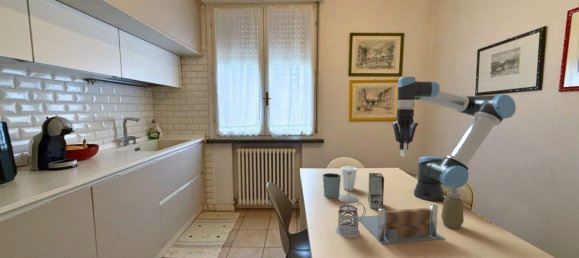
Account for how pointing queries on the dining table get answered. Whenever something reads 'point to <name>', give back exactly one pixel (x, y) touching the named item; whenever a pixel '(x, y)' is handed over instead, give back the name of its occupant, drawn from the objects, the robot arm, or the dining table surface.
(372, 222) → the mat
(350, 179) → the foam cup
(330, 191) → the grey-green cup
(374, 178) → the coffee box
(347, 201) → the french press
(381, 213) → the posts
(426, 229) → the wooden plank
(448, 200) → the squeeze bottle
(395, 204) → the dining table surface
